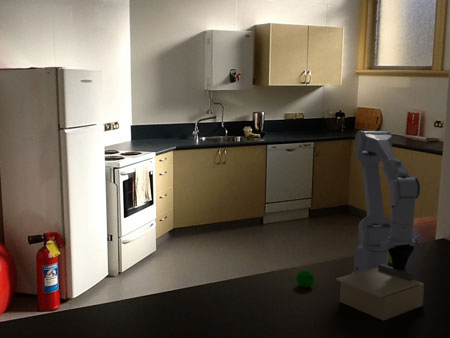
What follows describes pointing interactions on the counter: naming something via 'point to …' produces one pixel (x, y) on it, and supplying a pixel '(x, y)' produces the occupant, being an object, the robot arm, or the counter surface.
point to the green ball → (305, 278)
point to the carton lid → (380, 280)
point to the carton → (383, 301)
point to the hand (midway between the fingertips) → (398, 271)
